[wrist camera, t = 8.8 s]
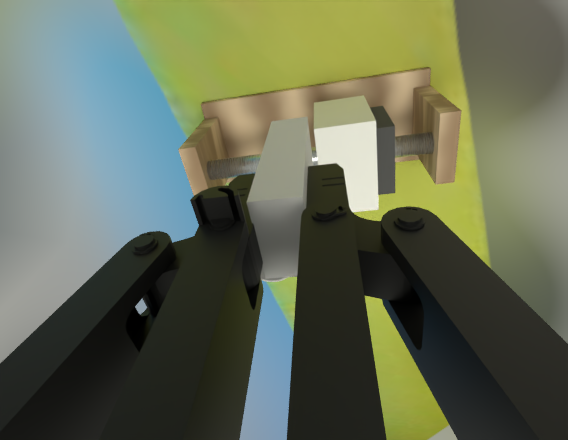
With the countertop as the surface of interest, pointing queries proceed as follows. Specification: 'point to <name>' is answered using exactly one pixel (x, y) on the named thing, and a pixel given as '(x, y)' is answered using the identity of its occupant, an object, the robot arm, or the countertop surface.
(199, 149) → the stand
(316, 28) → the countertop surface
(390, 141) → the dark grey square plate
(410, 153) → the pipe
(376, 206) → the sleeve
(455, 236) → the robot arm
